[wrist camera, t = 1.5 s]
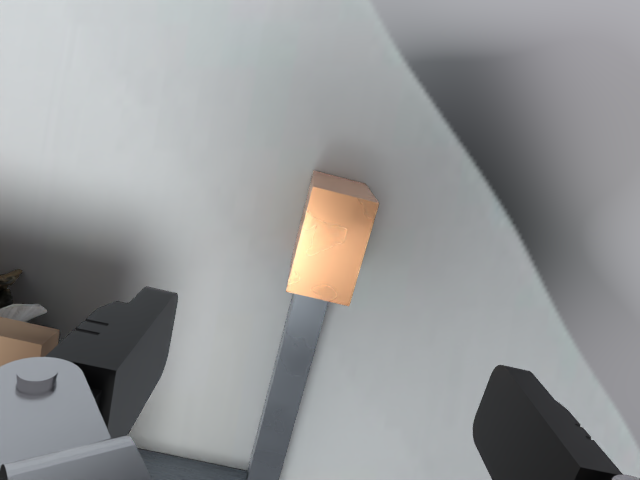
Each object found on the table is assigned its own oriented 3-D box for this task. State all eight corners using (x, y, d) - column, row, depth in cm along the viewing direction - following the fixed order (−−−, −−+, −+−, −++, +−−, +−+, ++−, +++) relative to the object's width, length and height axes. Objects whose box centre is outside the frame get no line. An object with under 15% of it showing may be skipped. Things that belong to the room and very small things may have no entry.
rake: (365, 183, 26) (379, 203, 21) (275, 503, 32) (266, 589, 26) (145, 127, 25) (94, 131, 20) (92, 466, 31) (41, 547, 25)
